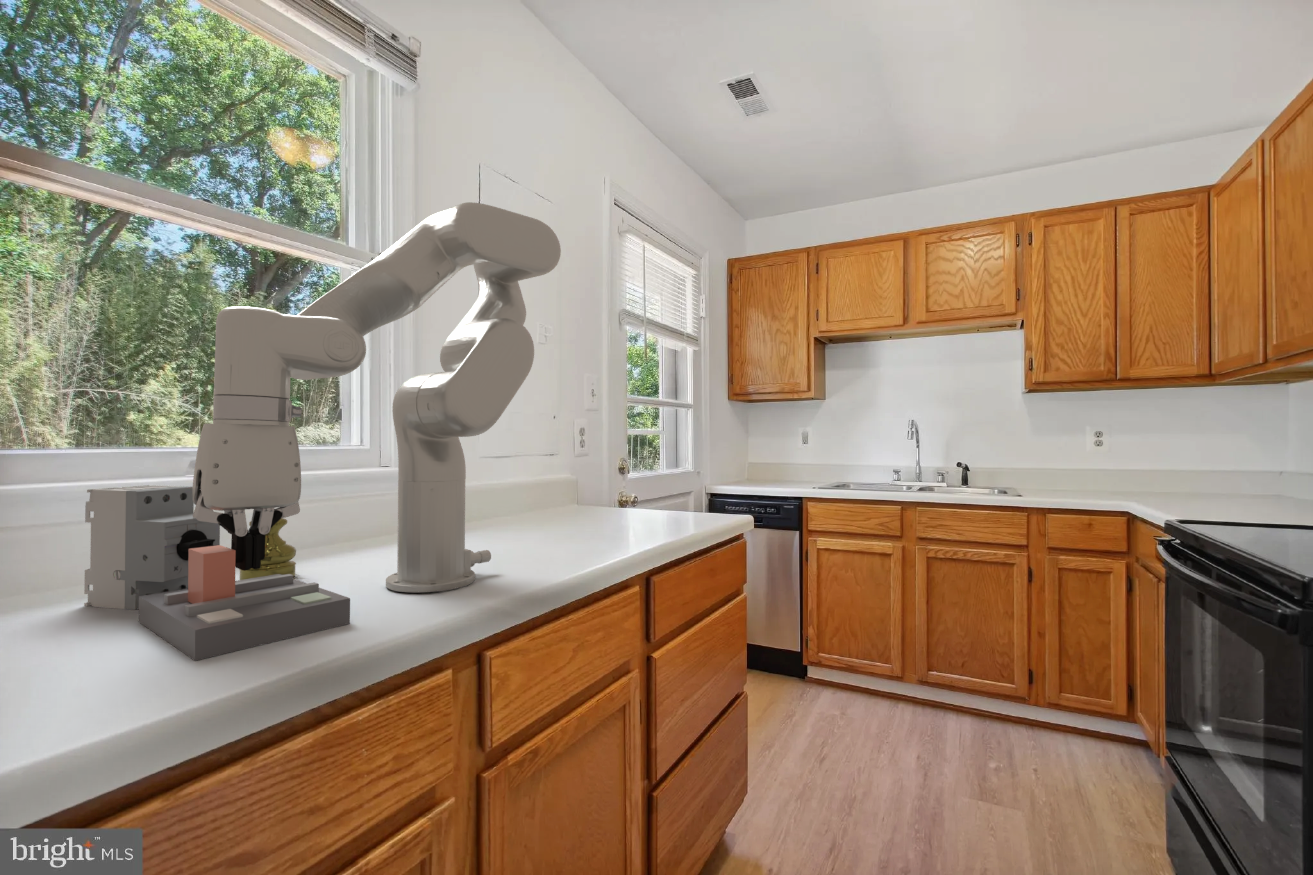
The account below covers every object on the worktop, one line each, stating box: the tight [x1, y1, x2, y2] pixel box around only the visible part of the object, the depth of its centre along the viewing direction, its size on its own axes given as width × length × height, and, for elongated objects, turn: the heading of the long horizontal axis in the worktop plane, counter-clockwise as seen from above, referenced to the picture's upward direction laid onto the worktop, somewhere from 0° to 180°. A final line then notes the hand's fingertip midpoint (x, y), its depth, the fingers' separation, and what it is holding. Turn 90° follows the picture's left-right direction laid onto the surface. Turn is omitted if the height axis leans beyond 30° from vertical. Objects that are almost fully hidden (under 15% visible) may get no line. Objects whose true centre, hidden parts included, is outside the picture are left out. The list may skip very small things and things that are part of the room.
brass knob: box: [238, 518, 297, 580], centre depth 92 cm, size 7×8×10 cm
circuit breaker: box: [83, 484, 221, 611], centre depth 79 cm, size 8×14×15 cm, turn 78°
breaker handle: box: [188, 544, 236, 604], centre depth 68 cm, size 3×5×6 cm, turn 53°
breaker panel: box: [138, 574, 351, 661], centre depth 70 cm, size 15×20×4 cm
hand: (247, 567), depth 71 cm, fingers closed
